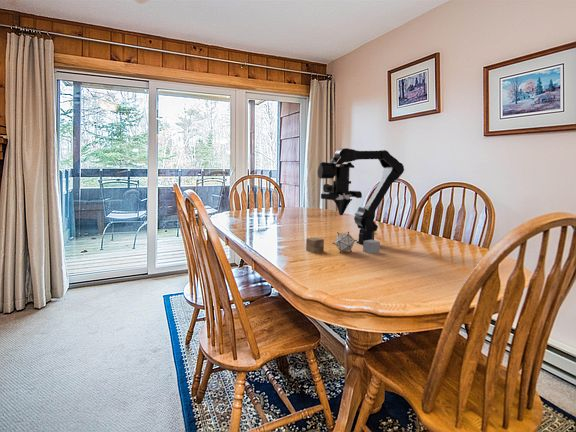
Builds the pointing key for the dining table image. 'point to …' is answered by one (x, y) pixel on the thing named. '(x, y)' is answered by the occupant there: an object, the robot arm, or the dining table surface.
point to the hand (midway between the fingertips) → (341, 215)
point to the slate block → (371, 246)
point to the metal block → (314, 244)
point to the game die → (344, 242)
